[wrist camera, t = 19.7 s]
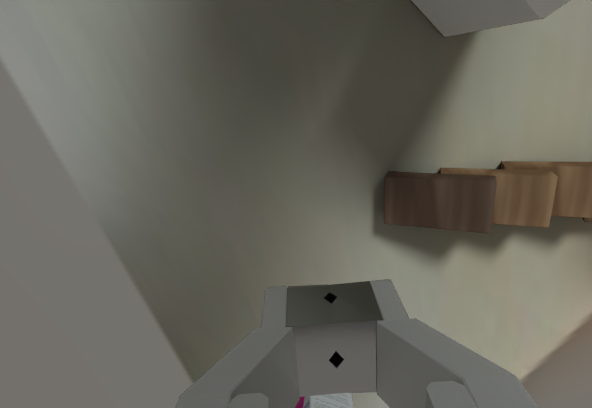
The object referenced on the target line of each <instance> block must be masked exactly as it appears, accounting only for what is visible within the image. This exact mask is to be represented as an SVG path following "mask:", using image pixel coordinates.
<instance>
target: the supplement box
mask: <svg viewBox="0 0 592 408" xmlns="http://www.w3.org/2000/svg"><path fill="white" fill-rule="evenodd" d="M295 408H353V403H352V396H351V393H336V394H325V395H315V396H304V397H300V400H299V401H298V403H297V405H296V406H295Z"/></svg>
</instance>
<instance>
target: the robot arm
mask: <svg viewBox="0 0 592 408" xmlns="http://www.w3.org/2000/svg"><path fill="white" fill-rule="evenodd" d="M363 392H377V394H378V395H379V396H380V398H381V399H382V400H383V401H384V402H385V403H386V404H387V405H388V406H389V407H390V408H538V406H537V405H536V404H535V402H534V401H533V399H532V398H531V397H530V395H529V394H528V392H527V391H526V390H525V388H524V387H523V386H522V384H521V383H520V381H519V380H518V379H517V377H516V376H515V375H514V374H512V373H510V372H508V371H507V370H505V369H503V368H501V367H500V366H498V365H496V364H494V363H493V362H491V361H489V360H487V359H486V358H484V357H482V356H480V355H479V354H477V353H475V352H473V351H472V350H470V349H468V348H466V347H465V346H463V345H461V344H459V343H458V342H456V341H454V340H452V339H451V338H449V337H447V336H445V335H444V334H442V333H440V332H438V331H437V330H435V329H433V328H431V327H430V326H428V325H426V324H424V323H423V322H421V321H419V320H417V319H416V318H415V319H409V317H408V315H407V313H406V311H405V308H404V306H403V304H402V302H401V300H400V298H399V296H398V294H397V291H396V289H395V287H394V285H393V283H392V281H391V280H390V279H384V280H375V281H365V282H354V283H344V284H333V285H328V284H327V285H306V286H288V287H286V286H282V287H271V288H267V289H266V290H265V296H264V304H263V312H262V320H261V328H260V329H254V330H253V331H252V332H251V333H250V334H248V335H247V336H246V337H245V338H244V339H243V340H242V341H241V342H240V343H238V344H237V345H236V346H235V347H234V348H233V349H232V350H231V351H229V352H228V353H227V354H226V355H225V356H224V357H223V358H222V359H220V360H219V361H218V362H217V363H216V364H215V365H214V366H213V367H212V368H210V369H209V370H208V371H207V372H206V373H205V374H204V375H203V376H201V377H200V378H199V379H198V380H197V381H196V382H195V383H194V384H192V385H191V386H190V387H189V388H188V389H187V390H186V391H185V392H184V393H182V394H181V395H180V396H179V400H178V402H177V405H176V408H295V406H296V405H297V403H298V401H299V400H300V397H304V396H315V395H325V394H336V393H363Z"/></svg>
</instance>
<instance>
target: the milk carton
mask: <svg viewBox="0 0 592 408" xmlns="http://www.w3.org/2000/svg"><path fill="white" fill-rule="evenodd" d="M411 1H412V2H413V3H414V4H415V5H416V6H417V7H418V8H419V10H420V11H421V12H422V13H423V14H424V15H425V16H426V17H427V18H428V19H429V21H430V22H431V23H432V24H433V25H434V26H435V27H436V28H437V29H438V31H439V32H440V33H441V34H442V35H443V36H445V37H448V36H453V35H459V34H464V33H469V32H475V31H480V30H485V29H491V28H496V27H501V26H507V25H512V24H517V23H522V22H528V21H533V20H538V19H544V18H545V17H547V16H548V15H550V14H551V13H552V12H554V11H555V10H557V9H558V8H560V7H561V6H563V5H564V4H566V3H567V2H569V1H570V0H411Z"/></svg>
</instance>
